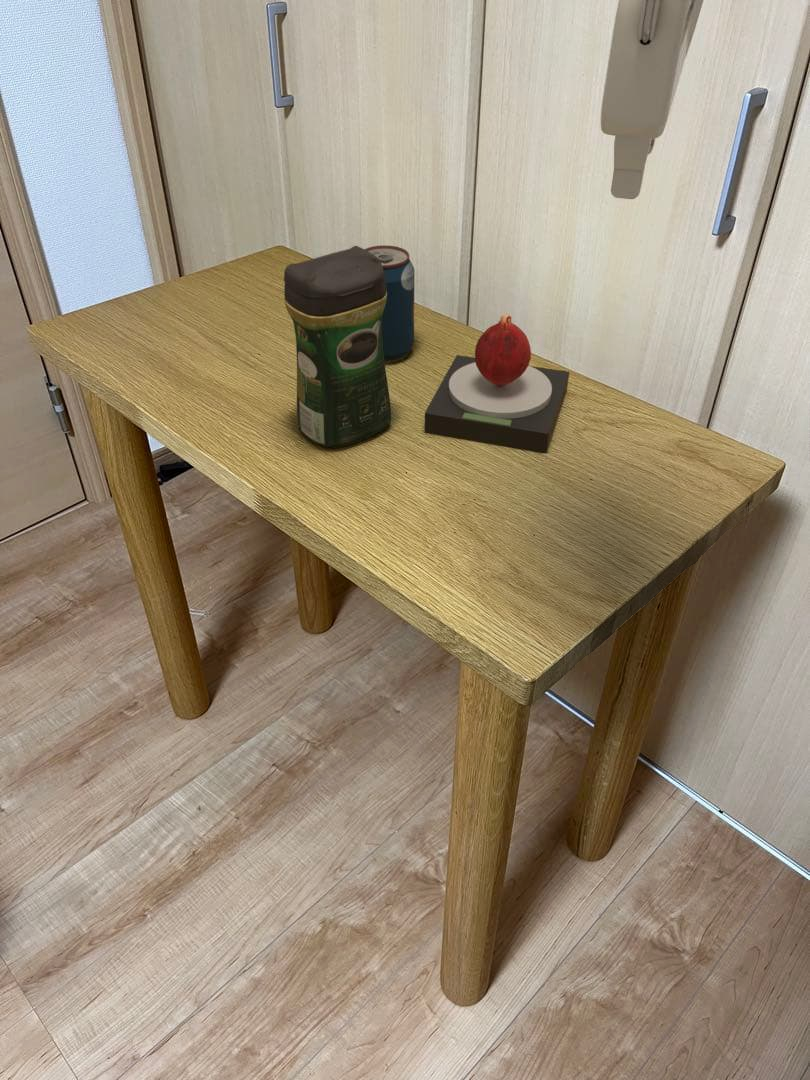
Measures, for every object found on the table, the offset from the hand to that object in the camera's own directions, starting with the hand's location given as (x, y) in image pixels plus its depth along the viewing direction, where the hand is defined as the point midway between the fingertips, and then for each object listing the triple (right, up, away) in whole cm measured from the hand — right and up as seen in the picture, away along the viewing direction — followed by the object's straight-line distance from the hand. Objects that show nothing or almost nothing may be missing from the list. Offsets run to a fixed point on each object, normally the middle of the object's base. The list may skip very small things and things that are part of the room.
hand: (632, 172), depth 58 cm
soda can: (-18, -2, +45) cm, 49 cm away
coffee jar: (-22, -13, +33) cm, 42 cm away
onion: (-5, -9, +33) cm, 35 cm away
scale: (-5, -11, +35) cm, 37 cm away
